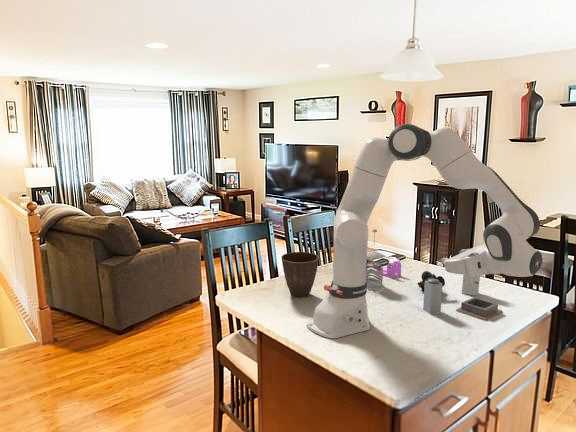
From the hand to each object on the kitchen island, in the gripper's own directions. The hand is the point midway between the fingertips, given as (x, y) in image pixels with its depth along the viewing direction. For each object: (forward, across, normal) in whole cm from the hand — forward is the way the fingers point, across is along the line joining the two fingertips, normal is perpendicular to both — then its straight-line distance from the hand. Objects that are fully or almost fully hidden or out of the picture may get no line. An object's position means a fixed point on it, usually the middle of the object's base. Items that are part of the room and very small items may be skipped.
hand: (451, 256), depth 151 cm
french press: (+43, +4, +15) cm, 46 cm away
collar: (+2, -11, +24) cm, 27 cm away
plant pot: (+50, +34, +9) cm, 61 cm away
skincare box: (+16, -24, +24) cm, 38 cm away
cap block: (+11, +3, +21) cm, 24 cm away
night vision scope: (+26, -12, +21) cm, 35 cm away
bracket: (+52, -13, +17) cm, 56 cm away
